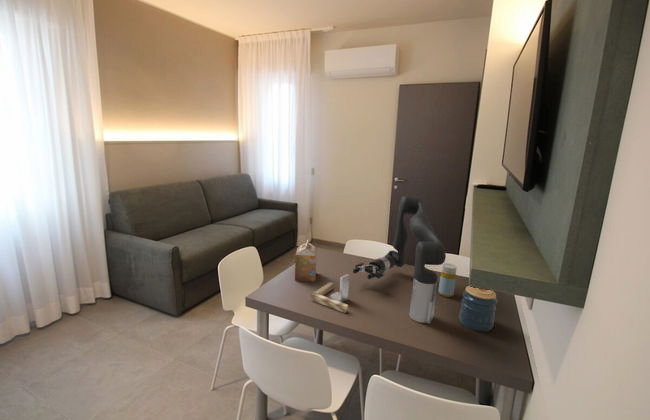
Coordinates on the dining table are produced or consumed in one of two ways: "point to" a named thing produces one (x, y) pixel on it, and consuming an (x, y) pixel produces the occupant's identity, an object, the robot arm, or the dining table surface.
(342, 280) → the bracket
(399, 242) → the robot arm
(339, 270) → the dining table surface
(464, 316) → the canister
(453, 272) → the bottle
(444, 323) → the dining table surface
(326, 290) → the wooden l-shaped corner
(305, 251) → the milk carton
